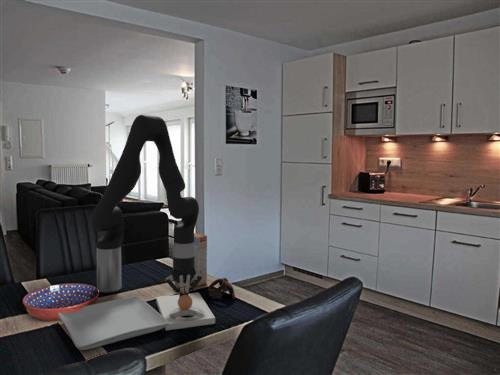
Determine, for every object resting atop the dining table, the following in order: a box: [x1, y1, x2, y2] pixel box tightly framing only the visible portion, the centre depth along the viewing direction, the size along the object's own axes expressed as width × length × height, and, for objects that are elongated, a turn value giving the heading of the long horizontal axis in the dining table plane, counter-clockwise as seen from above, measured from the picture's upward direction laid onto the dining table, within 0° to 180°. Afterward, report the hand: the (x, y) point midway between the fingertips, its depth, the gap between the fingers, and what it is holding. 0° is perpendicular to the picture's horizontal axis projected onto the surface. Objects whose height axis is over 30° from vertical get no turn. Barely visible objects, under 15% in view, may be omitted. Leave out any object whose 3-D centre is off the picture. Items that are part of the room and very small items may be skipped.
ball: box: [178, 295, 192, 310], centre depth 137 cm, size 5×5×5 cm
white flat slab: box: [155, 292, 216, 331], centre depth 139 cm, size 16×24×2 cm, turn 20°
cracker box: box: [173, 232, 208, 287], centre depth 170 cm, size 14×6×21 cm, turn 54°
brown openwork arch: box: [207, 277, 236, 300], centre depth 155 cm, size 12×10×8 cm
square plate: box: [57, 295, 169, 351], centre depth 127 cm, size 27×27×4 cm
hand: (183, 302), depth 140 cm, fingers closed
